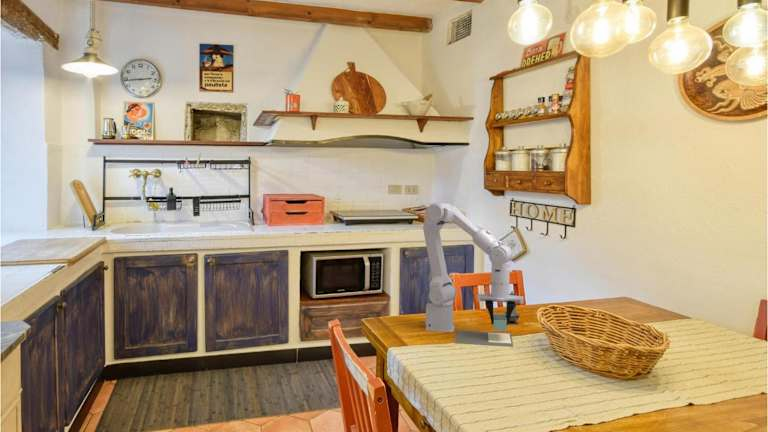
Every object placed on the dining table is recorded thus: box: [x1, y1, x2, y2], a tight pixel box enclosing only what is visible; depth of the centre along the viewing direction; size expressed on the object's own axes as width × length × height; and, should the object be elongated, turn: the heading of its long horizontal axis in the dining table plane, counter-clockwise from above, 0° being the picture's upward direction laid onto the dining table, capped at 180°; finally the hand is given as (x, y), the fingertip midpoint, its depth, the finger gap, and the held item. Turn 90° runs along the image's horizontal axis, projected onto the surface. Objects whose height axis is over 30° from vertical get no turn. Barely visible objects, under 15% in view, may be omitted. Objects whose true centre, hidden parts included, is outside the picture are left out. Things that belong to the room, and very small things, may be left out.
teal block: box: [492, 312, 508, 332], centre depth 161 cm, size 8×4×4 cm, turn 169°
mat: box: [454, 329, 514, 348], centre depth 161 cm, size 18×14×1 cm
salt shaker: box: [502, 290, 521, 326], centre depth 179 cm, size 6×6×12 cm
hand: (499, 323), depth 161 cm, fingers closed on teal block, 4 cm apart
